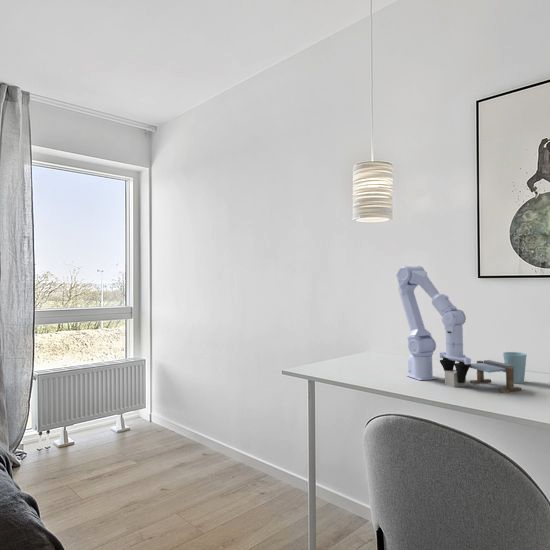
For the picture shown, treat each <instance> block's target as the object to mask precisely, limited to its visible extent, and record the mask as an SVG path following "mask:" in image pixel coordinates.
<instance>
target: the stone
mask: <svg viewBox="0 0 550 550" xmlns="http://www.w3.org/2000/svg"><path fill="white" fill-rule="evenodd" d="M466 379H467V377H466V378H465V382H464V383H458V379H457V371H456V369H453V370H447V371H444V385H447V386H450V387H453V388H457V387H458V388H459V386H460V387H466V386H467V380H466Z"/></svg>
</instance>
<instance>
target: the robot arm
mask: <svg viewBox="0 0 550 550" xmlns="http://www.w3.org/2000/svg"><path fill="white" fill-rule="evenodd" d="M396 279H397V283H398V294H399V296H400V300H401V303H402V307H403V309H404V313H405V316H406V319H407V320H406V321H407V323H408V324H407V325H408V327H409V331H410V334H408V336H407V342H408V344H407V345H408V347H407V348H408V351H409V352H410V353H411V354H410V355H409V356H408V359H407V367H408V368H407V370H408V371H407V372H408V373H407V374H406V376H407V377H409V378H412V379H415V380H418V381H428V380H435V379H436V380H437V379H438V376H434V375H433V372H434V371H433V355H434V352H435V351H436V349H437V343H436V341H435V339H434V338H433V336H432V333H431V332H430V331H429V330H427V328H425V324H424V320H423V318H422V315H421V311H420V308H419V304H418V302H417V298H416V295H415V289H416V288H417V287H418V286H420V288H421V289H422V290H423V291H424V292H425V293H426V294H427V296H428V297H430V299H431V305H432V306H433V308H435V309H436V311H437V312H438V313H439V314H440V316H441V317H442V318H441V322H442V324H443V325H444V330H445V352H439V358H440V359H439V363H440V364H441V367H442V368H443V371H444V372H445V371H447V370H454V368H455V370H456V371H457V379H458V383H464V382H465V378H466V379H467V374H468V372H469V369H471V368H470V366H471V364H472V359H471V358H469V357H467V356H466V354H464V339H463V338H464V334H463V325H464V324H465V323H466V319H467V317H466V314H465V312H464V311H463V310H461V309H458V308H457V306H455V305H454V304H453V303H452V302H451V301H450V299H449V296H448V295H446V294H442V293H440V291H439V290H438V289H437V288H436V286H435V285H434V283H433V282H432V281H431V278H430V277H429V276H428V272H427V270H425V268H424V267H423V266H421V265H415V266H414V265H413V266H407V265H403V266H401V267H399V269H398V270H397V273H396Z"/></svg>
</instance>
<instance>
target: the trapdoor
mask: <svg viewBox="0 0 550 550" xmlns="http://www.w3.org/2000/svg"><path fill="white" fill-rule="evenodd" d="M509 367H510V368H513V373H514V365H509V364H505V363H503V362H500V361H496V360H492V359H491V360H490V359H486V360H483V363H477V362H475V363H471V366H470V368H469V369H472V370H473V369H474V370H476V371H477V370H481V371H484V373H497V372H498V373H500V372H502V373H506V368H509Z"/></svg>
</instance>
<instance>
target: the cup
mask: <svg viewBox="0 0 550 550" xmlns="http://www.w3.org/2000/svg"><path fill="white" fill-rule="evenodd" d="M502 356H503V362H504V363H505V364H509V365H514V373H513V374H514V384H524V382H525V375H526V365H527V363H526V362H527V353H524V352H518V351H517V352H516V351H505V352H503V353H502Z"/></svg>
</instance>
